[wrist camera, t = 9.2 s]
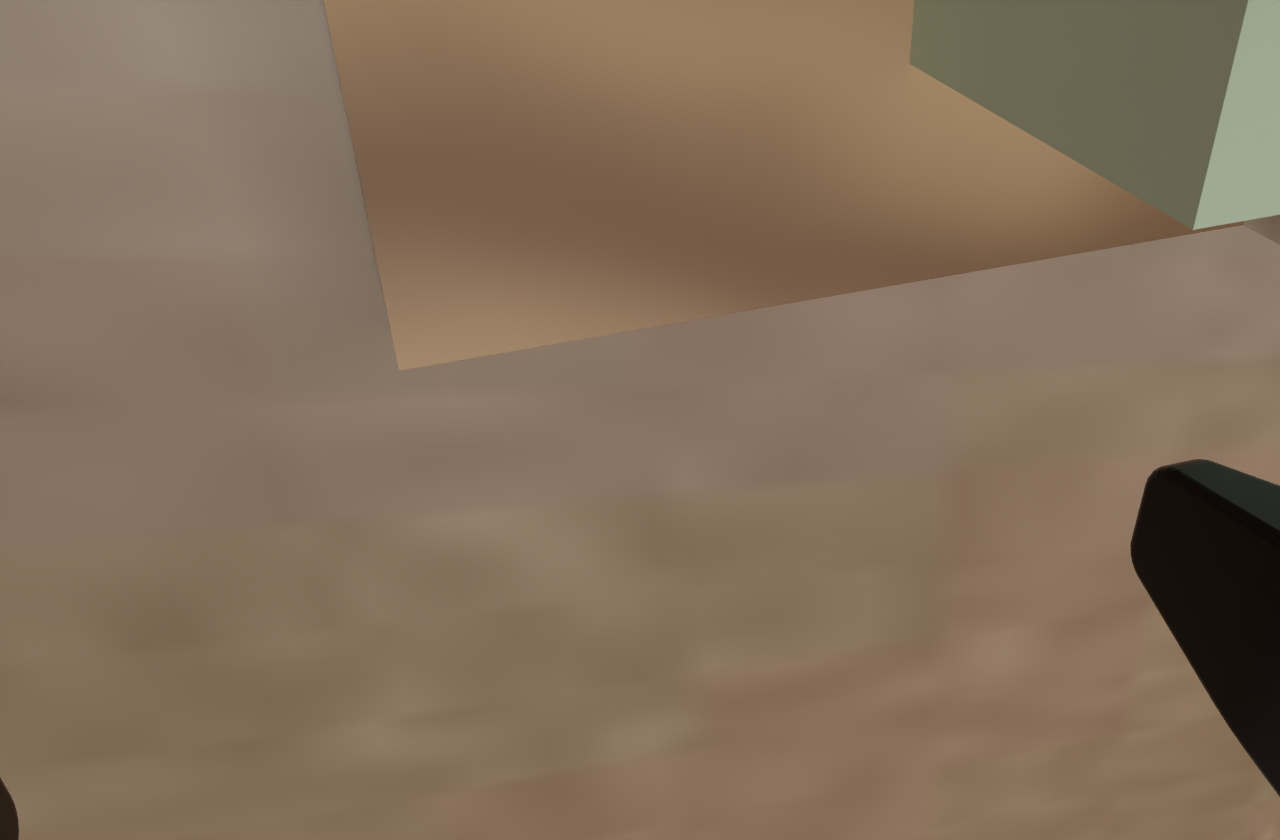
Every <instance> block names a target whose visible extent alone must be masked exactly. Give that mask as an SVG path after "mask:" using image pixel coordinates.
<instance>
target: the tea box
mask: <svg viewBox="0 0 1280 840" xmlns="http://www.w3.org/2000/svg"><path fill="white" fill-rule="evenodd" d="M909 64H911V65H912V66H914V67H916V68H918V69H919V70H921V71H923V72H924V73H926V74H928V75H929V76H931V77H933V78H935V79H936V80H938V81H940V82H941V83H943V84H945V85H947V86H948V87H950V88H952V89H953V90H955V91H957V92H958V93H960V94H962V95H964V96H965V97H967V98H969V99H970V100H972V101H974V102H976V103H977V104H979V105H981V106H982V107H984V108H986V109H987V110H989V111H991V112H993V113H994V114H996V115H998V116H999V117H1001V118H1003V119H1005V120H1006V121H1008V122H1010V123H1011V124H1013V125H1015V126H1016V127H1018V128H1020V129H1022V130H1023V131H1025V132H1027V133H1028V134H1030V135H1032V136H1034V137H1035V138H1037V139H1039V140H1040V141H1042V142H1044V143H1046V144H1047V145H1049V146H1051V147H1052V148H1054V149H1056V150H1057V151H1059V152H1061V153H1063V154H1064V155H1066V156H1068V157H1069V158H1071V159H1073V160H1075V161H1076V162H1078V163H1080V164H1081V165H1083V166H1085V167H1086V168H1088V169H1090V170H1092V171H1093V172H1095V173H1097V174H1098V175H1100V176H1102V177H1104V178H1105V179H1107V180H1109V181H1110V182H1112V183H1114V184H1115V185H1117V186H1119V187H1121V188H1122V189H1124V190H1126V191H1127V192H1129V193H1131V194H1133V195H1134V196H1136V197H1138V198H1139V199H1141V200H1143V201H1144V202H1146V203H1148V204H1150V205H1151V206H1153V207H1155V208H1156V209H1158V210H1160V211H1162V212H1163V213H1165V214H1167V215H1168V216H1170V217H1172V218H1174V219H1175V220H1177V221H1179V222H1180V223H1182V224H1184V225H1185V226H1187V227H1189V228H1191V229H1192V230H1195V229H1201V228H1207V227H1212V226H1218V225H1224V224H1229V223H1235V222H1241V221H1246V220H1252V219H1258V218H1263V217H1269V216H1275V215H1280V0H914V13H913V25H912V38H911V51H910V63H909Z"/></svg>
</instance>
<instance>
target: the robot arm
mask: <svg viewBox="0 0 1280 840" xmlns="http://www.w3.org/2000/svg"><path fill="white" fill-rule="evenodd" d="M1131 558H1132V563H1133V565H1134V568H1135V571H1136V573H1137V575H1138V577H1139V579H1140V580H1141V582H1142V584H1143V585H1144V587H1145V589H1146V590H1147V592H1148V594H1149V595H1150V597H1151V599H1152V601H1153V602H1154V604H1155V606H1156V607H1157V609H1158V611H1159V612H1160V614H1161V616H1162V617H1163V619H1164V621H1165V622H1166V624H1167V626H1168V627H1169V629H1170V631H1171V632H1172V634H1173V636H1174V637H1175V639H1176V641H1177V642H1178V644H1179V646H1180V647H1181V649H1182V651H1183V652H1184V654H1185V656H1186V657H1187V659H1188V661H1189V662H1190V664H1191V666H1192V667H1193V669H1194V671H1195V672H1196V674H1197V676H1198V677H1199V679H1200V681H1201V683H1202V684H1203V686H1204V688H1205V689H1206V691H1207V693H1208V694H1209V696H1210V698H1211V699H1212V701H1213V703H1214V704H1215V706H1216V707H1217V709H1218V710H1219V712H1220V714H1221V715H1222V717H1223V718H1224V720H1225V721H1226V723H1227V725H1228V726H1229V728H1230V729H1231V731H1232V732H1233V733H1234V735H1235V736H1236V738H1237V739H1238V740H1239V742H1240V743H1241V745H1242V746H1243V748H1244V749H1245V750H1246V752H1247V753H1248V755H1249V756H1250V757H1251V759H1252V760H1253V761H1254V763H1255V764H1256V765H1257V767H1258V768H1259V770H1260V771H1261V772H1262V774H1263V775H1264V776H1265V778H1266V779H1267V780H1268V782H1269V783H1270V784H1271V786H1272V787H1273V788H1274V790H1275V791H1276V792H1277V794H1278V795H1279V797H1280V486H1279V485H1276V484H1273V483H1270V482H1268V481H1265V480H1262V479H1259V478H1257V477H1254V476H1251V475H1248V474H1245V473H1243V472H1240V471H1237V470H1234V469H1232V468H1229V467H1226V466H1223V465H1220V464H1218V463H1215V462H1212V461H1209V460H1203V459H1196V460H1190V461H1185V462H1180V463H1176V464H1171V465H1166V466H1162V467H1159V468H1158V469H1156V470H1154V471H1153V473H1152V474H1151V475H1150V476H1149V478H1148V479H1147V482H1146V485H1145V489H1144V493H1143V497H1142V501H1141V504H1140V508H1139V512H1138V516H1137V520H1136V524H1135V528H1134V532H1133V536H1132V540H1131ZM18 839H19V826H18V817H17V811H16V808H15V805H14V802H13V800H12V797H11V795H10V794H9V792H8V790H7V788H6V787H5V785H4V783H3V781H2V780H1V778H0V840H18Z"/></svg>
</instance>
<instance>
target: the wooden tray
mask: <svg viewBox="0 0 1280 840" xmlns="http://www.w3.org/2000/svg"><path fill="white" fill-rule="evenodd" d="M323 1H324V6H325V10H326V15H327V20H328V25H329V30H330V35H331V40H332V45H333V50H334V54H335V59H336V64H337V69H338V74H339V79H340V84H341V89H342V94H343V99H344V103H345V108H346V113H347V118H348V123H349V128H350V133H351V138H352V143H353V147H354V152H355V157H356V162H357V167H358V172H359V177H360V182H361V187H362V191H363V196H364V201H365V206H366V211H367V216H368V221H369V226H370V231H371V235H372V240H373V245H374V250H375V255H376V260H377V265H378V270H379V275H380V280H381V284H382V289H383V294H384V299H385V304H386V309H387V314H388V319H389V324H390V328H391V333H392V338H393V343H394V348H395V353H396V358H397V363H398V368H399V371H400V370H406V369H412V368H418V367H423V366H429V365H435V364H441V363H447V362H452V361H458V360H464V359H470V358H476V357H481V356H487V355H493V354H499V353H504V352H510V351H516V350H522V349H528V348H533V347H539V346H545V345H551V344H557V343H562V342H568V341H574V340H580V339H586V338H591V337H597V336H603V335H609V334H614V333H620V332H626V331H632V330H638V329H643V328H649V327H655V326H661V325H667V324H672V323H678V322H684V321H690V320H696V319H701V318H707V317H713V316H719V315H724V314H730V313H736V312H742V311H748V310H753V309H759V308H765V307H771V306H777V305H782V304H788V303H794V302H800V301H806V300H811V299H817V298H823V297H829V296H834V295H840V294H846V293H852V292H858V291H863V290H869V289H875V288H881V287H887V286H892V285H898V284H904V283H910V282H916V281H921V280H927V279H933V278H939V277H944V276H950V275H956V274H962V273H968V272H973V271H979V270H985V269H991V268H997V267H1002V266H1008V265H1014V264H1020V263H1026V262H1031V261H1037V260H1043V259H1049V258H1054V257H1060V256H1066V255H1072V254H1078V253H1083V252H1089V251H1095V250H1101V249H1107V248H1112V247H1118V246H1124V245H1130V244H1136V243H1141V242H1147V241H1153V240H1159V239H1164V238H1170V237H1176V236H1182V235H1188V234H1193V233H1199V232H1205V231H1211V230H1217V229H1222V228H1228V227H1234V226H1240V225H1245V226H1247V227H1248V228H1250V229H1252V230H1254V231H1256V232H1258V233H1259V234H1261V235H1263V236H1265V237H1267V238H1268V239H1270V240H1272V241H1274V242H1276V243H1278V244H1279V245H1280V215H1275V216H1269V217H1263V218H1258V219H1252V220H1246V221H1241V222H1235V223H1229V224H1224V225H1218V226H1212V227H1207V228H1201V229H1195V230H1192V229H1191V228H1189V227H1187V226H1185V225H1184V224H1182V223H1180V222H1179V221H1177V220H1175V219H1174V218H1172V217H1170V216H1168V215H1167V214H1165V213H1163V212H1162V211H1160V210H1158V209H1156V208H1155V207H1153V206H1151V205H1150V204H1148V203H1146V202H1144V201H1143V200H1141V199H1139V198H1138V197H1136V196H1134V195H1133V194H1131V193H1129V192H1127V191H1126V190H1124V189H1122V188H1121V187H1119V186H1117V185H1115V184H1114V183H1112V182H1110V181H1109V180H1107V179H1105V178H1104V177H1102V176H1100V175H1098V174H1097V173H1095V172H1093V171H1092V170H1090V169H1088V168H1086V167H1085V166H1083V165H1081V164H1080V163H1078V162H1076V161H1075V160H1073V159H1071V158H1069V157H1068V156H1066V155H1064V154H1063V153H1061V152H1059V151H1057V150H1056V149H1054V148H1052V147H1051V146H1049V145H1047V144H1046V143H1044V142H1042V141H1040V140H1039V139H1037V138H1035V137H1034V136H1032V135H1030V134H1028V133H1027V132H1025V131H1023V130H1022V129H1020V128H1018V127H1016V126H1015V125H1013V124H1011V123H1010V122H1008V121H1006V120H1005V119H1003V118H1001V117H999V116H998V115H996V114H994V113H993V112H991V111H989V110H987V109H986V108H984V107H982V106H981V105H979V104H977V103H976V102H974V101H972V100H970V99H969V98H967V97H965V96H964V95H962V94H960V93H958V92H957V91H955V90H953V89H952V88H950V87H948V86H947V85H945V84H943V83H941V82H940V81H938V80H936V79H935V78H933V77H931V76H929V75H928V74H926V73H924V72H923V71H921V70H919V69H918V68H916V67H914V66H912V65H911V64H909V63H910V51H911V38H912V25H913V13H914V0H323Z"/></svg>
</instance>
